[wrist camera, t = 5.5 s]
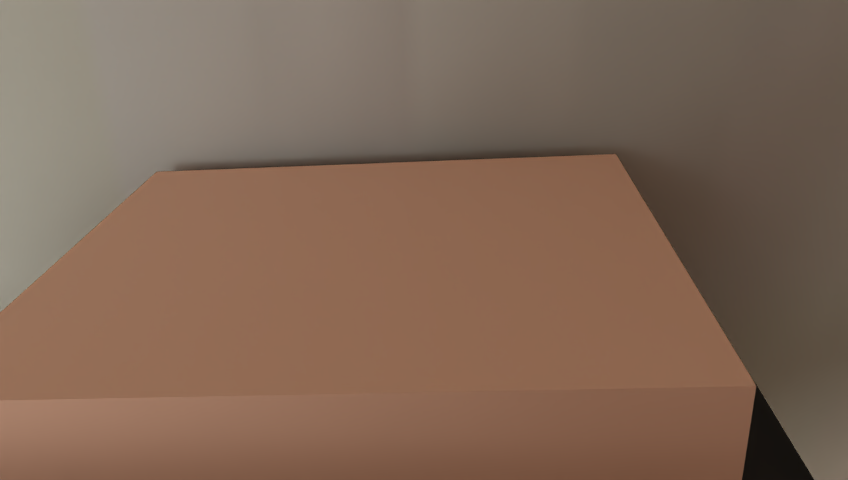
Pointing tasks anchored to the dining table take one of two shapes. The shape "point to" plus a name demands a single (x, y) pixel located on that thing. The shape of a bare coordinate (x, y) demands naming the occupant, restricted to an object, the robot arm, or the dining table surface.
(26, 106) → the dining table surface
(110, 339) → the stacking block
